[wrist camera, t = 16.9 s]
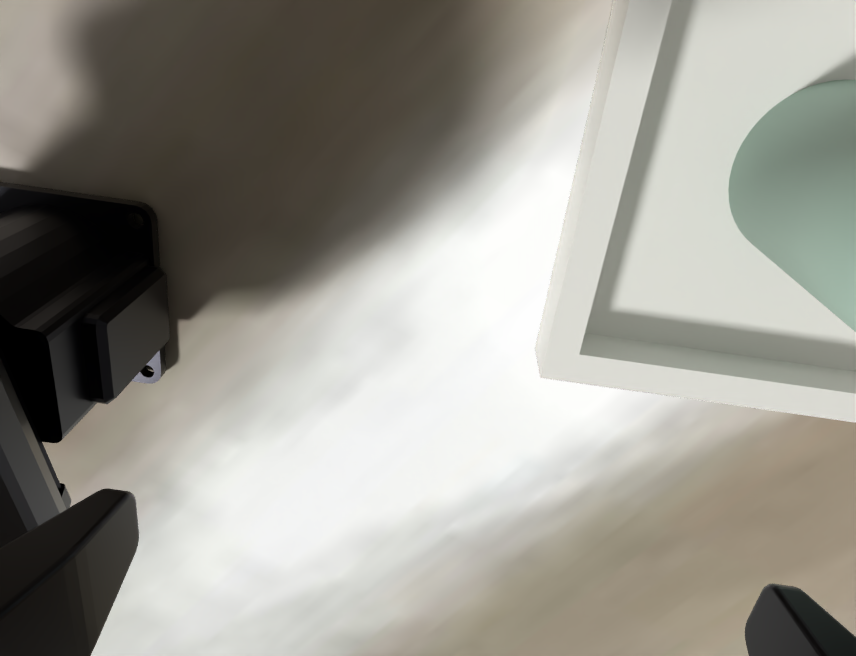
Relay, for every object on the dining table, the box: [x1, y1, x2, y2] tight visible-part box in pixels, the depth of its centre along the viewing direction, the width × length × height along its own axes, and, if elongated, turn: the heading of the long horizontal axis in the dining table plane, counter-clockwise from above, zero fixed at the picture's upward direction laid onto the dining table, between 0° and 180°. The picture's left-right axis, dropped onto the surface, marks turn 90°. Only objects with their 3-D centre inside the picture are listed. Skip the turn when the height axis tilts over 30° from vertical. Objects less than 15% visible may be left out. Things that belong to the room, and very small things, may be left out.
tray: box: [535, 0, 856, 422], centre depth 18 cm, size 14×14×2 cm
